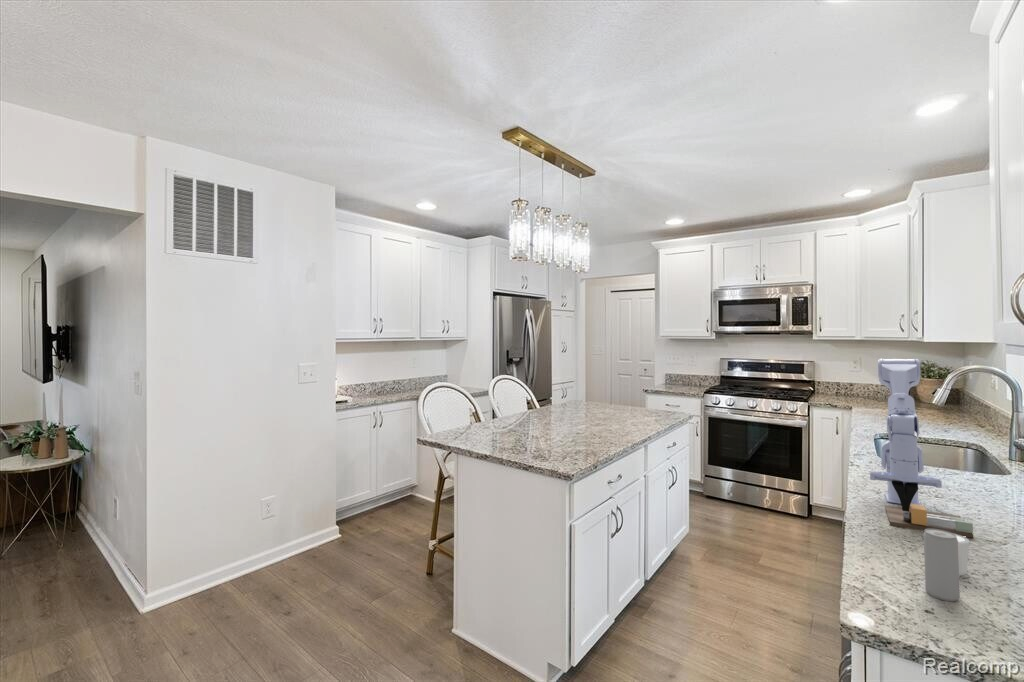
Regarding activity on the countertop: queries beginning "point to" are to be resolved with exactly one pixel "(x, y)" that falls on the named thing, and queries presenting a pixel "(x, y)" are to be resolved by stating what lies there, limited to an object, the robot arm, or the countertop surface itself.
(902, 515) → the tong board
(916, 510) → the collar
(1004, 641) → the countertop surface
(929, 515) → the tong arm
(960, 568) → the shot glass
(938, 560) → the beverage can
